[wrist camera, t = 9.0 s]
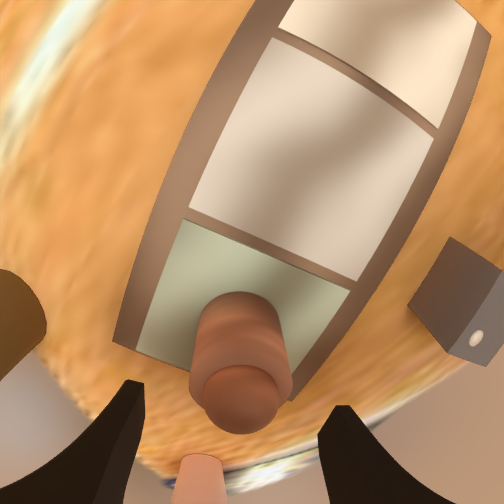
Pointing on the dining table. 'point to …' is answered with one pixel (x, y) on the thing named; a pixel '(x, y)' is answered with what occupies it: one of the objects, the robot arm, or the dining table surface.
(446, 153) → the game board
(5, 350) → the olive brown pawn
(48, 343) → the dining table surface
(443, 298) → the die
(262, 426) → the pawn
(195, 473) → the smoothie
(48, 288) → the dining table surface
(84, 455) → the robot arm
